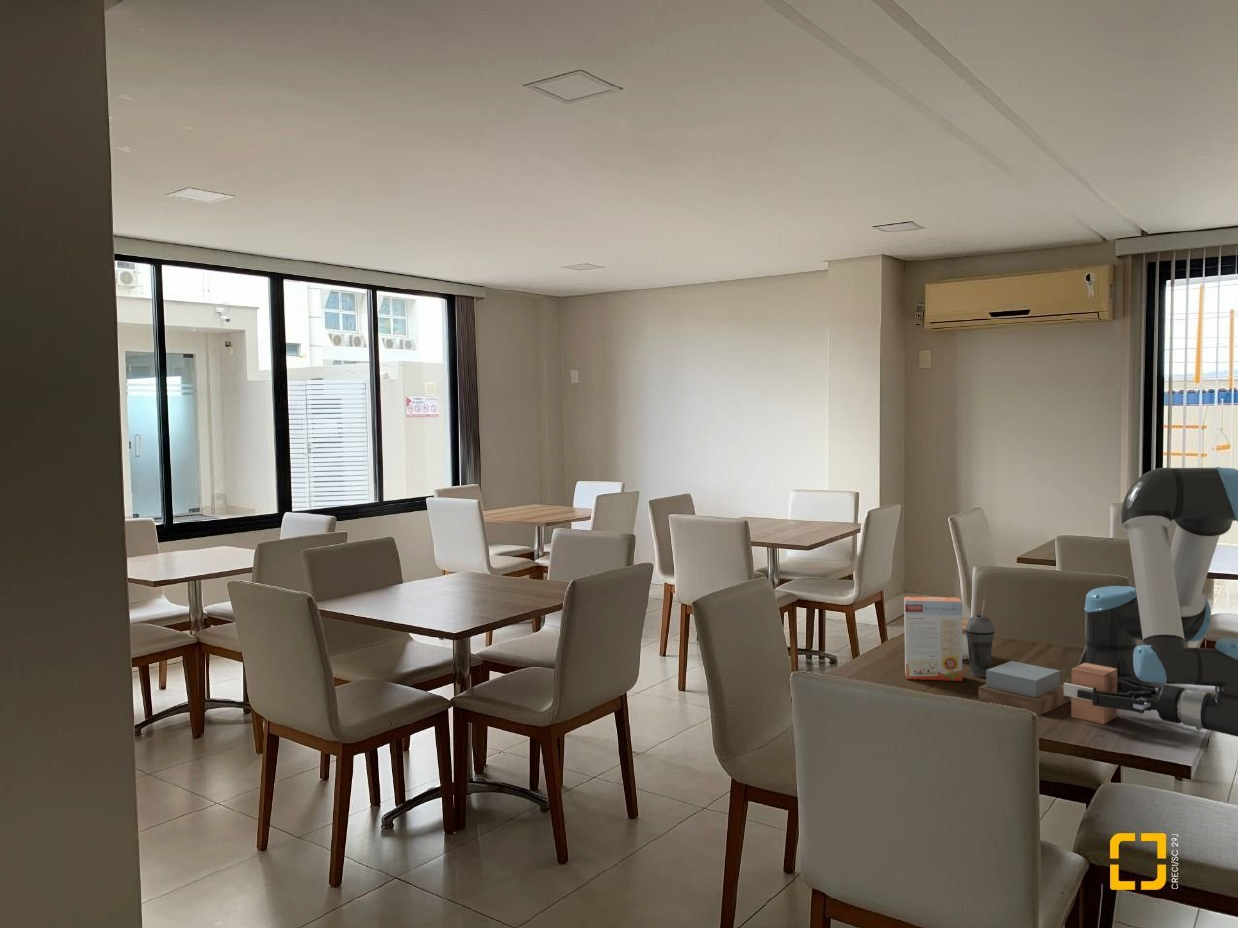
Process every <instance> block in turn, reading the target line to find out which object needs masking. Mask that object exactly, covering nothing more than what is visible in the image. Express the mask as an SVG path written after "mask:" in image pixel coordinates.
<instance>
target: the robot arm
mask: <svg viewBox="0 0 1238 928" xmlns="http://www.w3.org/2000/svg"><path fill="white" fill-rule="evenodd" d="M1120 513H1121V514H1120V517H1121V527H1122V530H1123V531H1124V532H1126V533H1127V534H1128V542H1129V548H1130V555H1131V562H1132V563H1131V564H1132V569H1133V576H1134V577H1133V578H1134V584H1135V587H1133V586H1129V585H1123V586H1122V585H1109V586H1101V587H1096V588H1094V589H1090V590H1089V591H1088V592H1087V593H1086V595H1085V602H1084V603H1085V605H1084V611H1085V613H1084V614H1085V615H1084V616H1085V617H1084V619H1085V620H1084V621H1085V622H1084V625H1085V626H1084V631H1085V632H1084V643H1085V644H1084V649H1083V651H1082V654H1081V656H1080V660H1079V662H1078V663H1077V664H1078V665H1077V666H1079V665H1081V664H1083V663H1090V664H1095V665H1100V666H1106V667H1111V668H1117V692H1106V691H1096V687H1093V688H1088V687H1084V686H1079V685H1074V684H1072V683H1068V682H1063V686H1064V695H1065V696H1069V697H1070V698H1072V697H1074V698H1079V699H1083V700H1088V701H1093V705H1094V706H1101V707H1108V708H1115V709H1117V710H1122V711H1130V712H1134V713H1139V714H1144V713H1145V711H1146V712H1149V711H1150V712H1151V711H1156V712H1157V713H1158V717H1159V718H1160V720H1162V721H1165V722H1170V723H1173V724H1181V723H1182V724H1183V726H1184V725H1185V726H1188V727H1193V728H1195V729H1196V730H1197V731H1201V730H1203V729H1204V730H1206V731H1211V732H1216V733H1220V734H1225V735H1229V736H1234V737H1238V637H1221V638H1218V639H1217V640H1216V641H1215V645H1214V648H1211V647H1210V648H1208V647H1187V646H1186V644H1185V643H1188V642H1189V643H1190V642H1191V643H1192V642H1199V641H1201V640H1203V639H1204V638H1205V637H1206V636H1207V634H1208V632H1209V630H1210V628H1211V627H1210V626H1211V621H1210V620H1211V618H1212V611H1211V606H1210V603H1209V601H1208V599H1207V598H1206V597H1205V595H1204V594H1203V592H1202V591H1203V588H1204V586H1205V582H1206V579H1207V576H1208V574H1209V569H1210V567H1211V564H1212V561H1213V557H1214V554H1215V551H1216V548H1217V545H1218V542H1219V539H1220V536H1222V535H1224V534H1227V532H1229V531H1230V529H1231V527H1232V525H1233V523H1234V521H1235V522H1238V469H1236V468H1233V467H1220V466H1216V467H1159V468H1154V469H1151V470H1149V471H1147V472H1145V473H1143V474H1142V475H1141V476H1139V478H1137V479H1136V480H1135V481H1134V482H1133V484H1132V485H1131V486H1130V487H1129V488H1128V491H1127V492H1126V494H1125V497H1124V499H1123V501H1122V506H1121V512H1120ZM1172 521H1173V522H1174V524H1175V525H1176V527H1175V529H1174V535H1173V538H1172V541H1171V544H1170V539H1169V529H1171V527H1172V524H1173V522H1172ZM1140 640H1141V641H1142V645H1141V644H1140V645H1138V641H1140ZM1149 683H1152V684H1161V685H1164V686H1157V685H1152V684H1149ZM1174 685H1186V686H1187V685H1190V686H1191V685H1192V686H1201V687H1203V686H1204V687H1214V692H1215V693H1212V692H1207V691H1202V690H1199V689H1198V690H1197V689H1191V688H1187V689H1185V688H1184V687H1180V686H1174Z"/></svg>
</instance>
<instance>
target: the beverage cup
mask: <svg viewBox="0 0 1238 928" xmlns="http://www.w3.org/2000/svg"><path fill="white" fill-rule="evenodd" d="M985 607H986V598H984V599H983V601H982V607H981V608H982V610H981V615H979V614H978V615H974V616H971V617H970V618H969V619H967V620H968V622H967V624H966V629H965V631H966V637H967V641H968V652H969V659H968V662H969V669H970V670H969V672H970V675H971V676H973V677H977V678H986V670H988V669H991V660H992V649H993V641H994V637H995V633H996V632H995V627H994V624H993V622H992V620H990V619H989V618H988V617H986V615H985Z"/></svg>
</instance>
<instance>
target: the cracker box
mask: <svg viewBox="0 0 1238 928" xmlns="http://www.w3.org/2000/svg"><path fill="white" fill-rule="evenodd" d="M903 609H904V611H903V613H904V616H903V618H904V619H903V620H904V675H905V678H907V679H906V680H918V679H919V680H923V681H924V680H925V681H944V682H945V681H946V682H947V681H948V682H949V681H950V682H963V674H964V672H963V669H964V668H963V659H962V619H963V601H962V600H961V598H960V597H951V596H950V597H949V596H948V597H947V596H945V597H944V596H904V597H903ZM919 680H918V681H919Z"/></svg>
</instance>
